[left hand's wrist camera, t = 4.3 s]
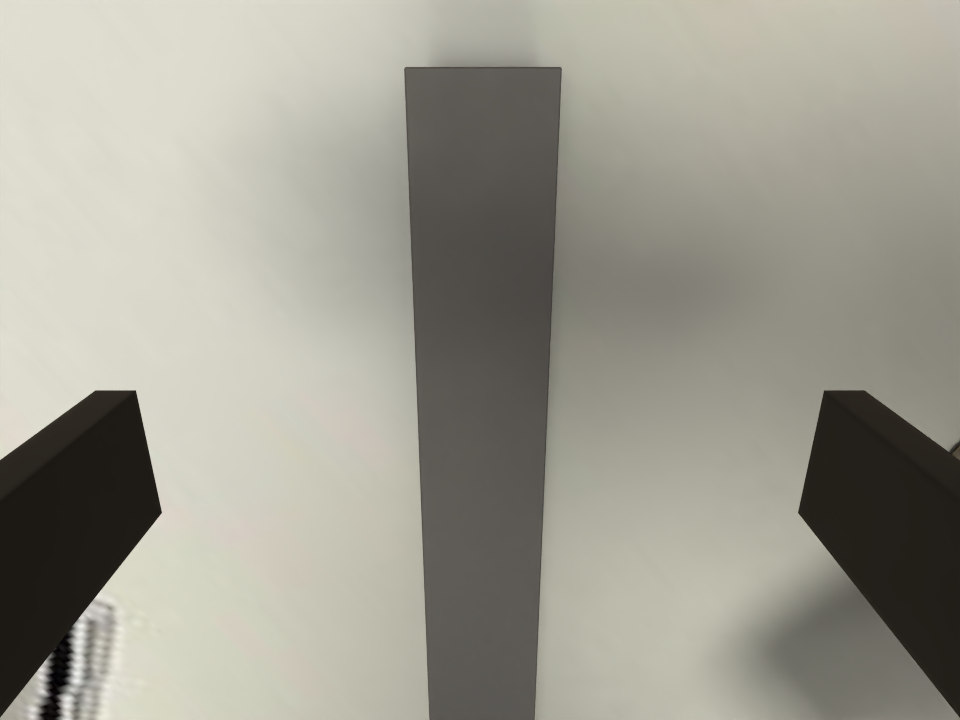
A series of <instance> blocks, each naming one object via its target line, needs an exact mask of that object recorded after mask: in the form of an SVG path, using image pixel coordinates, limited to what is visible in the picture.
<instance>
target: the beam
mask: <svg viewBox="0 0 960 720" xmlns="http://www.w3.org/2000/svg"><path fill="white" fill-rule="evenodd" d="M404 71H405V97H406V123H407V149H408V175H409V201H410V227H411V252H412V278H413V304H414V330H415V356H416V382H417V408H418V433H419V459H420V485H421V511H422V537H423V563H424V589H425V614H426V640H427V666H428V692H429V718H430V720H534V718H535V694H536V670H537V646H538V622H539V598H540V574H541V550H542V526H543V502H544V478H545V454H546V430H547V406H548V382H549V359H550V335H551V311H552V287H553V263H554V239H555V215H556V191H557V167H558V143H559V119H560V95H561V71H562V69H561V67H405V69H404Z"/></svg>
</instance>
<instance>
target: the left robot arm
mask: <svg viewBox="0 0 960 720" xmlns="http://www.w3.org/2000/svg"><path fill="white" fill-rule="evenodd" d="M161 513H162V511H161V506H160V502H159V497H158V492H157V488H156V483H155V478H154V474H153V469H152V464H151V460H150V455H149V450H148V445H147V441H146V436H145V431H144V427H143V422H142V417H141V413H140V408H139V403H138V399H137V394H136V391H94V392H93V393H92V394H90V395H89V396H87V397H86V398H85V399H83V400H82V401H81V402H79V403H78V404H77V405H75V406H74V407H72V408H71V409H70V410H68V411H67V412H66V413H64V414H63V415H61V416H60V417H59V418H57V419H56V420H55V421H53V422H52V423H50V424H49V425H48V426H46V427H45V428H44V429H42V430H41V431H40V432H38V433H37V434H35V435H34V436H33V437H31V438H30V439H29V440H27V441H26V442H24V443H23V444H22V445H20V446H19V447H18V448H16V449H15V450H13V451H12V452H11V453H9V454H8V455H7V456H5V457H4V458H3V459H1V460H0V717H1V716H2V715H3V713H4V712H5V711H6V709H7V708H8V707H9V706H10V704H11V703H12V702H13V701H14V699H15V698H16V697H17V696H18V694H19V693H20V692H21V690H22V689H23V688H24V687H25V685H26V684H27V683H28V682H29V680H30V679H31V678H32V677H33V675H34V674H35V673H36V671H37V670H38V669H39V668H40V666H41V665H42V664H43V663H44V661H45V660H46V659H47V658H48V656H49V655H50V654H51V652H52V651H53V650H54V649H55V647H56V646H57V645H58V644H59V642H60V641H61V640H62V639H63V637H64V636H65V635H66V633H67V632H68V631H69V630H70V628H71V627H72V626H73V625H74V623H75V622H76V621H77V620H78V618H79V617H80V616H81V614H82V613H83V612H84V611H85V609H86V608H87V607H88V606H89V604H90V603H91V602H92V601H93V599H94V598H95V597H96V596H97V594H98V593H99V592H100V590H101V589H102V588H103V587H104V585H105V584H106V583H107V582H108V580H109V579H110V578H111V577H112V575H113V574H114V573H115V571H116V570H117V569H118V568H119V566H120V565H121V564H122V563H123V561H124V560H125V559H126V558H127V556H128V555H129V554H130V552H131V551H132V550H133V549H134V547H135V546H136V545H137V544H138V542H139V541H140V540H141V539H142V537H143V536H144V535H145V533H146V532H147V531H148V530H149V528H150V527H151V526H152V525H153V523H154V522H155V521H156V520H157V518H158V517H159V516H160V514H161ZM798 513H799V514H800V516H801V517H802V518H803V520H804V521H805V522H806V523H807V525H808V526H809V527H810V528H811V530H812V531H813V532H814V533H815V535H816V536H817V537H818V539H819V540H820V541H821V542H822V544H823V545H824V546H825V547H826V549H827V550H828V551H829V552H830V554H831V555H832V556H833V558H834V559H835V560H836V561H837V563H838V564H839V565H840V566H841V568H842V569H843V570H844V571H845V573H846V574H847V575H848V577H849V578H850V579H851V580H852V582H853V583H854V584H855V585H856V587H857V588H858V589H859V590H860V592H861V593H862V594H863V596H864V597H865V598H866V599H867V601H868V602H869V603H870V604H871V606H872V607H873V608H874V609H875V611H876V612H877V613H878V614H879V616H880V617H881V618H882V620H883V621H884V622H885V623H886V625H887V626H888V627H889V628H890V630H891V631H892V632H893V633H894V635H895V636H896V637H897V639H898V640H899V641H900V642H901V644H902V645H903V646H904V647H905V649H906V650H907V651H908V652H909V654H910V655H911V656H912V658H913V659H914V660H915V661H916V663H917V664H918V665H919V666H920V668H921V669H922V670H923V671H924V673H925V674H926V675H927V677H928V678H929V679H930V680H931V682H932V683H933V684H934V685H935V687H936V688H937V689H938V690H939V692H940V693H941V694H942V696H943V697H944V698H945V699H946V701H947V702H948V703H949V704H950V706H951V707H952V708H953V709H954V711H955V712H956V713H957V715H958V716H959V717H960V446H959V447H958V448H957V449H956V450H955V451H954V452H953V454H951V453H949V452H948V451H947V450H945V449H944V448H942V447H941V446H940V445H938V444H937V443H936V442H934V441H933V440H931V439H930V438H929V437H927V436H926V435H925V434H923V433H922V432H920V431H919V430H918V429H916V428H915V427H914V426H912V425H911V424H910V423H908V422H907V421H905V420H904V419H903V418H901V417H900V416H899V415H897V414H896V413H894V412H893V411H892V410H890V409H889V408H888V407H886V406H885V405H883V404H882V403H881V402H879V401H878V400H877V399H875V398H874V397H873V396H871V395H870V394H868V393H867V392H866V391H824V394H823V399H822V403H821V408H820V413H819V417H818V422H817V427H816V431H815V436H814V441H813V445H812V450H811V455H810V460H809V464H808V469H807V474H806V478H805V483H804V488H803V492H802V497H801V502H800V506H799V511H798Z"/></svg>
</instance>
